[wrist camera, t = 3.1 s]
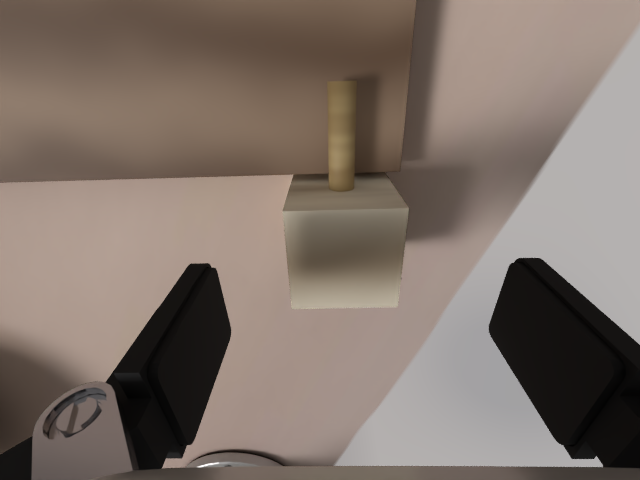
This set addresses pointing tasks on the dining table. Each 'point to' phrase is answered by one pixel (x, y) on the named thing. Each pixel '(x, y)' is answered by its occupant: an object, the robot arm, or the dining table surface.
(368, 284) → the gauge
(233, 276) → the dining table surface
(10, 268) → the dining table surface
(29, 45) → the board
